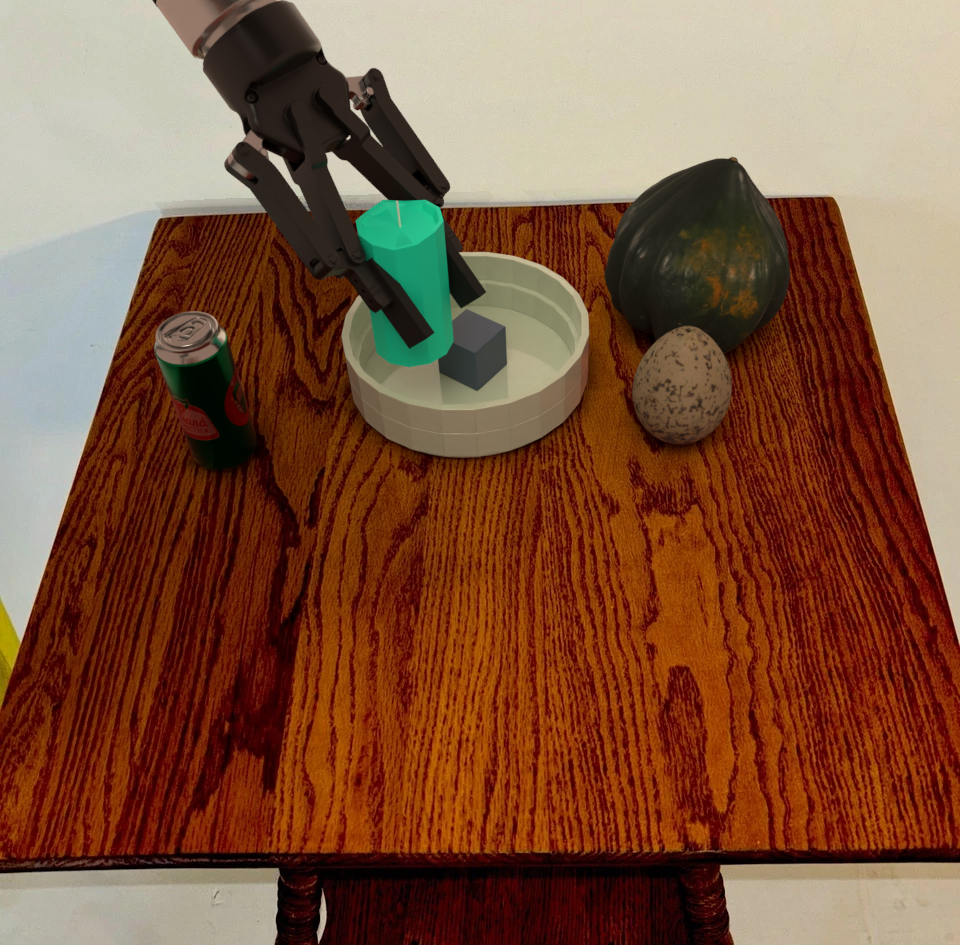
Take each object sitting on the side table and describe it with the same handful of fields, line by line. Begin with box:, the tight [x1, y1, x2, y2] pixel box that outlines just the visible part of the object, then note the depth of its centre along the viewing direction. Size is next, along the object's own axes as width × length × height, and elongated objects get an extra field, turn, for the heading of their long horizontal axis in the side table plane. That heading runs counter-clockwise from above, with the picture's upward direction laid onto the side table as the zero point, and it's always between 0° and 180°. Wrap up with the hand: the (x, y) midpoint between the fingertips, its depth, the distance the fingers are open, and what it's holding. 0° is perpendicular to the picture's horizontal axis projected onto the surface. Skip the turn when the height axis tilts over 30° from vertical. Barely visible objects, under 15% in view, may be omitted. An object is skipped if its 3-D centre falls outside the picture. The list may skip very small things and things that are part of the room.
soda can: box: [153, 310, 258, 472], centre depth 76 cm, size 5×5×12 cm
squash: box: [603, 156, 791, 355], centre depth 84 cm, size 14×15×15 cm
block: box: [438, 309, 507, 391], centre depth 83 cm, size 4×4×4 cm
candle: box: [355, 199, 454, 367], centre depth 73 cm, size 6×6×12 cm
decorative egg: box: [631, 326, 733, 445], centre depth 76 cm, size 7×7×10 cm
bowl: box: [340, 251, 590, 459], centre depth 83 cm, size 19×19×6 cm
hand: (447, 319), depth 73 cm, fingers closed on candle, 5 cm apart
